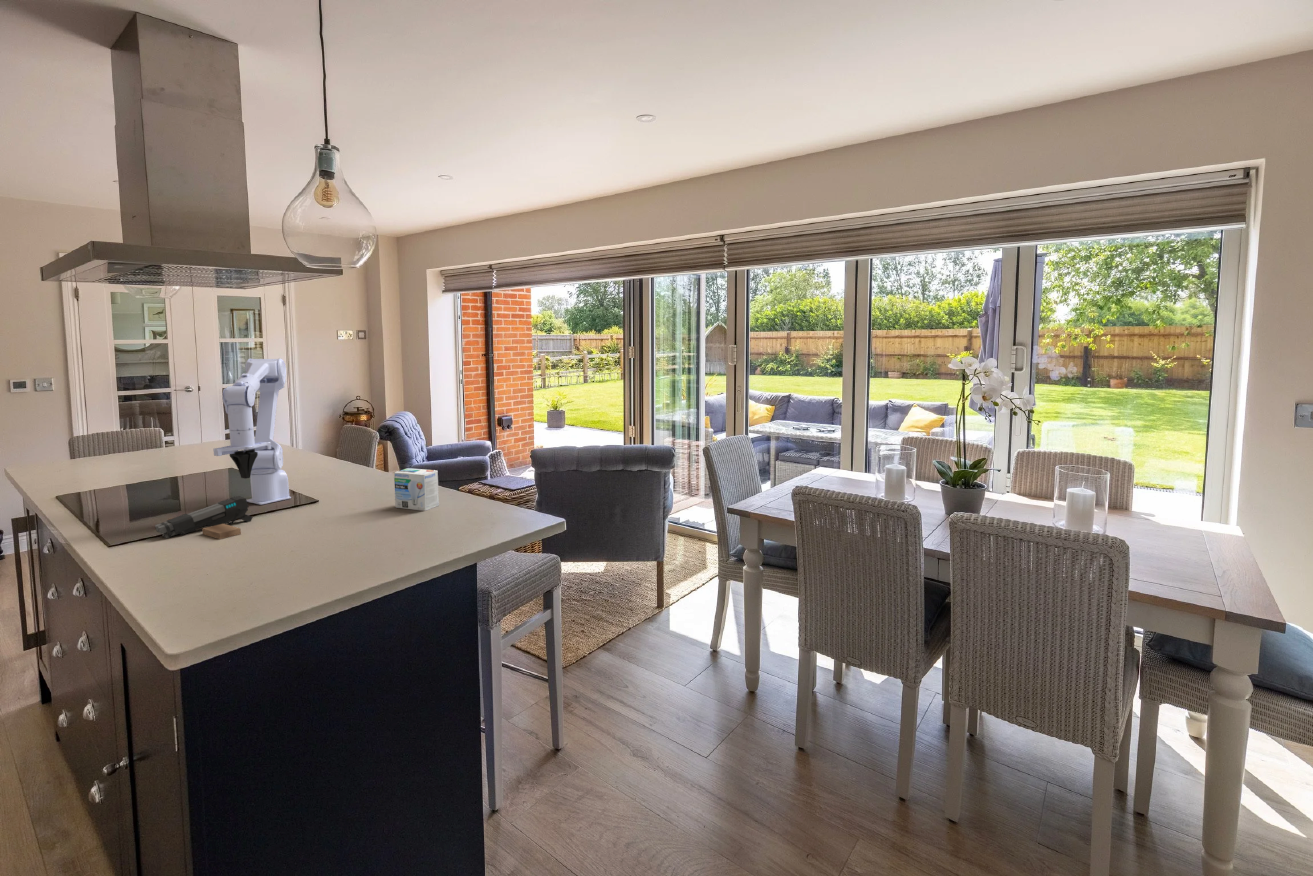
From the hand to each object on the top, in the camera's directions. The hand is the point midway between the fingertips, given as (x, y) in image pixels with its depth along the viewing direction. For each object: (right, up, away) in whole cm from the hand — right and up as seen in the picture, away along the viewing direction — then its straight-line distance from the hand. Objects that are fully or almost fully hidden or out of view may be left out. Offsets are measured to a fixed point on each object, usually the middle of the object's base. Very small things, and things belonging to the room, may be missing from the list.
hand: (245, 477), depth 186 cm
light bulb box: (+44, -9, +11) cm, 46 cm away
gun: (-2, -13, -13) cm, 18 cm away
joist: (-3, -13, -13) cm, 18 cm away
